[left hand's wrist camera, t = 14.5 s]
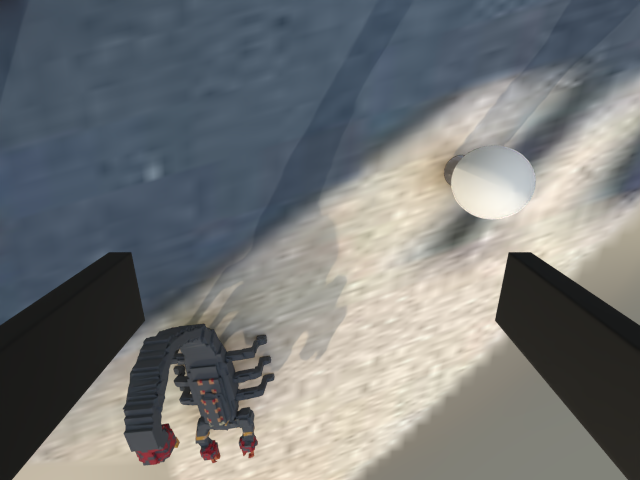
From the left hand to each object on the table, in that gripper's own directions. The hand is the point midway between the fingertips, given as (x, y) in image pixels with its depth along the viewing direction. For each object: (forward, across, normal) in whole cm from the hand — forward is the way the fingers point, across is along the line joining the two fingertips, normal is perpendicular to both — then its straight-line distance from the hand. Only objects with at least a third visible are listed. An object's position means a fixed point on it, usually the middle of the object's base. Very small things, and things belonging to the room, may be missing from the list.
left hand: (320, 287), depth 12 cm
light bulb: (+29, -16, 0) cm, 33 cm away
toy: (+29, +14, +28) cm, 42 cm away
